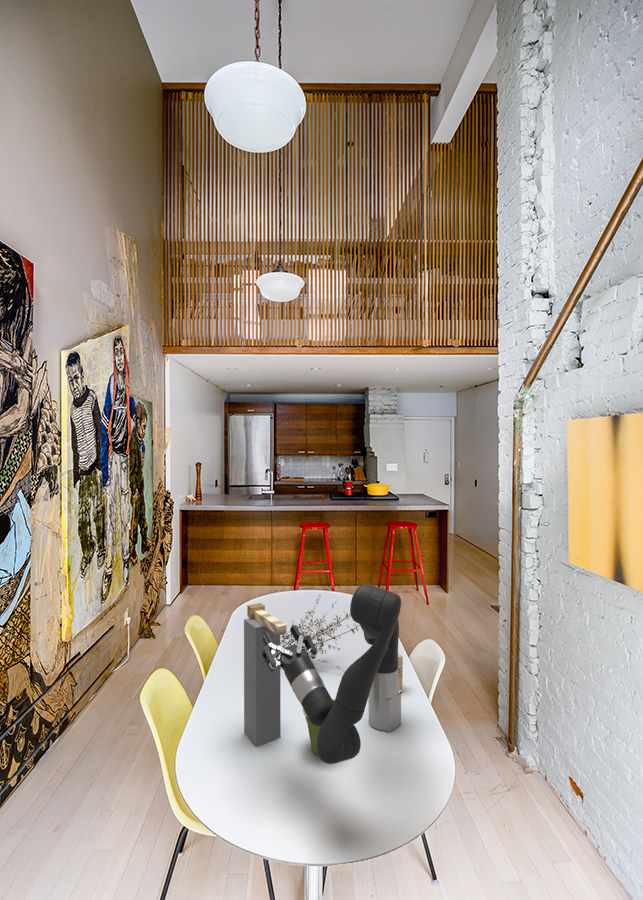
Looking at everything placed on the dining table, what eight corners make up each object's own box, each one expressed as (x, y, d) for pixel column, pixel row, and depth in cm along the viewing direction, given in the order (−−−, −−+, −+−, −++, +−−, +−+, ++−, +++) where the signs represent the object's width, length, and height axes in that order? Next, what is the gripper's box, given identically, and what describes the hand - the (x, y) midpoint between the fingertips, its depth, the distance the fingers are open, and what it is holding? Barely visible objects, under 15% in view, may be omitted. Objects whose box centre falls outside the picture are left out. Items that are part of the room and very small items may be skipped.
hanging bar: (289, 632, 127) (289, 620, 127) (275, 636, 125) (275, 623, 125) (260, 613, 142) (260, 602, 142) (247, 616, 140) (247, 605, 140)
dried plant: (252, 632, 169) (363, 583, 167) (268, 611, 200) (362, 569, 198) (284, 713, 165) (399, 663, 164) (296, 678, 196) (392, 636, 195)
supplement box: (381, 696, 158) (381, 658, 158) (375, 689, 162) (375, 652, 162) (403, 693, 160) (403, 655, 160) (397, 686, 164) (397, 650, 164)
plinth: (280, 737, 135) (280, 621, 135) (255, 747, 131) (255, 627, 131) (268, 723, 142) (267, 614, 142) (244, 732, 137) (243, 619, 138)
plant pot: (320, 730, 139) (320, 693, 139) (352, 746, 131) (352, 706, 131) (294, 750, 130) (294, 710, 130) (326, 768, 122) (326, 726, 122)
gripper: (332, 663, 119) (303, 615, 130) (284, 679, 111) (258, 626, 122) (324, 682, 122) (297, 634, 133) (277, 699, 114) (252, 646, 125)
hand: (278, 630), depth 128 cm, fingers open, 8 cm apart
